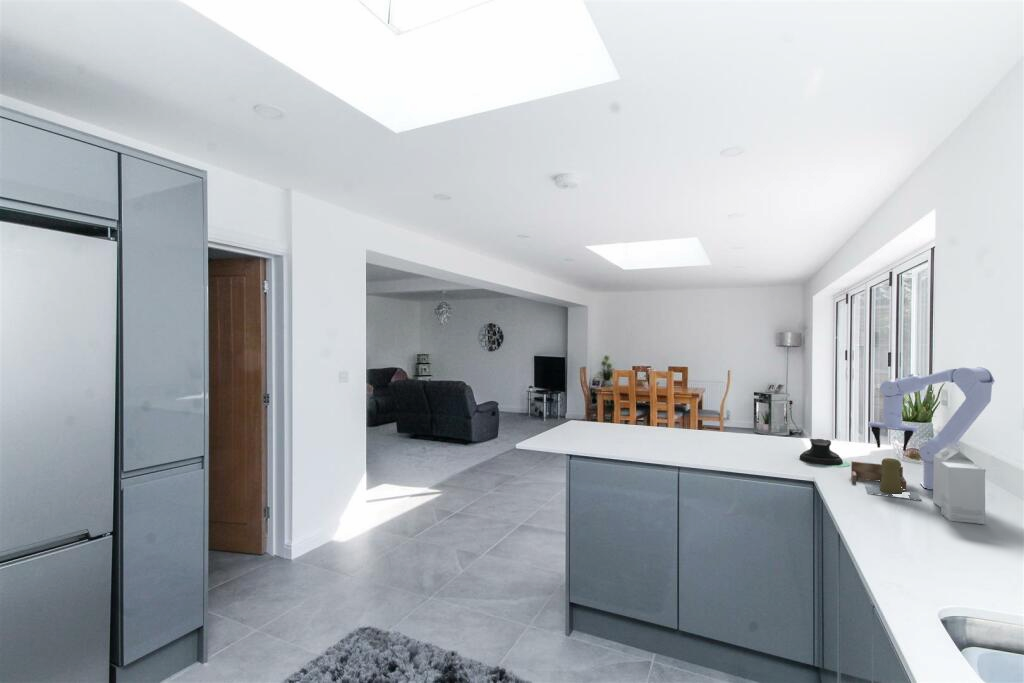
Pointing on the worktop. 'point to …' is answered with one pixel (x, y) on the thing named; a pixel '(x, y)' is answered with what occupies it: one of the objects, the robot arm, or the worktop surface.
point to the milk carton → (950, 456)
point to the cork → (891, 476)
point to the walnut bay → (871, 472)
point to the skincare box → (963, 492)
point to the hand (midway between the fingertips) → (891, 448)
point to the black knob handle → (822, 454)
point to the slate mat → (877, 491)
